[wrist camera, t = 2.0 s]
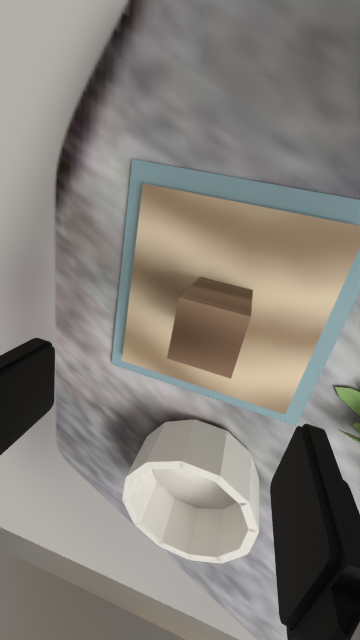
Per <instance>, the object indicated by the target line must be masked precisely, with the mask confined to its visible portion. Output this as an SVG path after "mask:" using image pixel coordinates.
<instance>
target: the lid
mask: <svg viewBox="0 0 360 640" xmlns="http://www.w3.org/2000/svg"><path fill="white" fill-rule="evenodd" d="M359 248H360V226H358V225H353V224H348V223H343V222H337V221H332V220H327V219H322V218H317V217H312V216H307V215H302V214H297V213H292V212H286V211H281V210H276V209H271V208H266V207H261V206H256V205H251V204H246V203H240V202H235V201H230V200H225V199H220V198H215V197H210V196H205V195H200V194H195V193H189V192H184V191H179V190H174V189H169V188H164V187H159V186H154V185H149V184H143V188H142V196H141V204H140V213H139V221H138V229H137V238H136V246H135V254H134V263H133V271H132V280H131V288H130V296H129V305H128V313H127V321H126V330H125V338H124V347H123V355H122V361H124V362H127V363H130V364H133V365H136V366H139V367H142V368H145V369H148V370H152V371H155V372H158V373H161V374H164V375H167V376H170V377H173V378H176V379H179V380H182V381H185V382H188V383H191V384H194V385H197V386H200V387H203V388H206V389H209V390H212V391H215V392H218V393H221V394H224V395H227V396H230V397H233V398H236V399H239V400H242V401H245V402H248V403H251V404H255V405H258V406H261V407H264V408H267V409H270V410H273V411H276V412H279V413H282V414H286V412H287V409H288V407H289V405H290V403H291V400H292V398H293V396H294V394H295V392H296V389H297V387H298V385H299V383H300V380H301V378H302V376H303V374H304V371H305V369H306V367H307V365H308V362H309V360H310V358H311V356H312V354H313V351H314V349H315V347H316V345H317V342H318V340H319V338H320V336H321V333H322V331H323V329H324V327H325V324H326V322H327V320H328V318H329V316H330V313H331V311H332V309H333V307H334V304H335V302H336V300H337V298H338V295H339V293H340V291H341V289H342V286H343V284H344V282H345V280H346V278H347V275H348V273H349V271H350V269H351V266H352V264H353V262H354V260H355V257H356V255H357V253H358V251H359Z"/></svg>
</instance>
